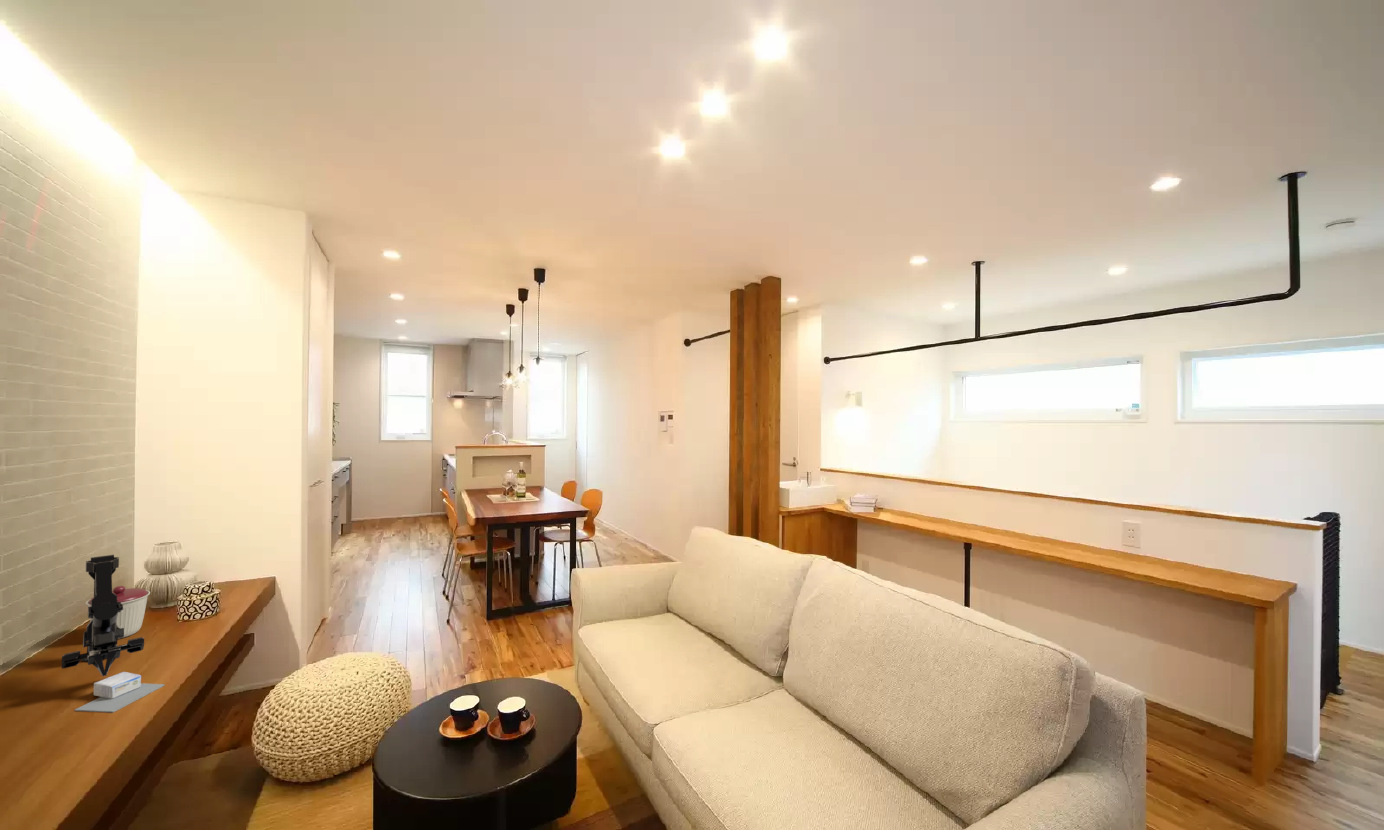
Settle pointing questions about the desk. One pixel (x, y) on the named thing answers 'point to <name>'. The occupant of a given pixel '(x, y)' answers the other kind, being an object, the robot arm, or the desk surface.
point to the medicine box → (117, 685)
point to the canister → (129, 608)
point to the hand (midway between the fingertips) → (104, 675)
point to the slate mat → (119, 699)
